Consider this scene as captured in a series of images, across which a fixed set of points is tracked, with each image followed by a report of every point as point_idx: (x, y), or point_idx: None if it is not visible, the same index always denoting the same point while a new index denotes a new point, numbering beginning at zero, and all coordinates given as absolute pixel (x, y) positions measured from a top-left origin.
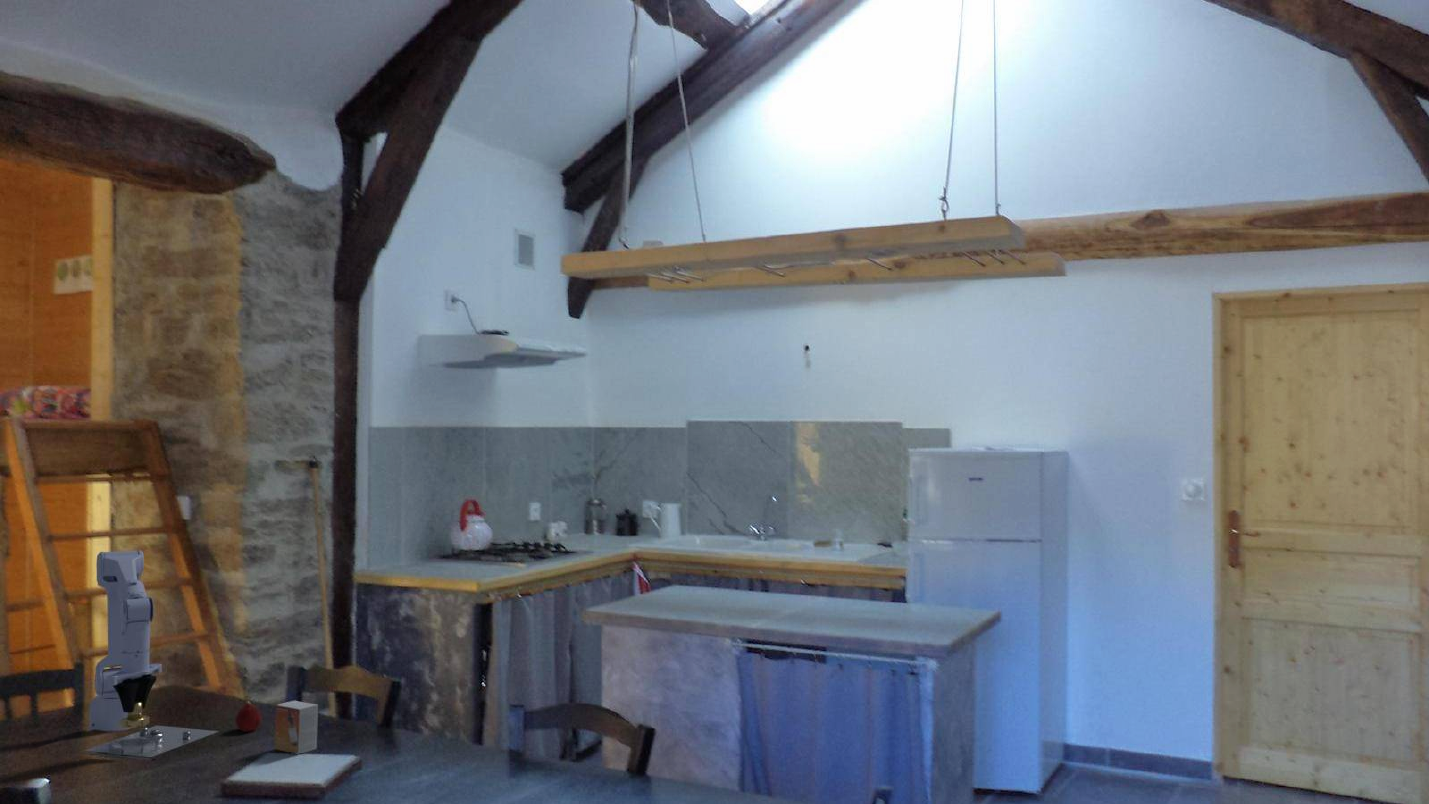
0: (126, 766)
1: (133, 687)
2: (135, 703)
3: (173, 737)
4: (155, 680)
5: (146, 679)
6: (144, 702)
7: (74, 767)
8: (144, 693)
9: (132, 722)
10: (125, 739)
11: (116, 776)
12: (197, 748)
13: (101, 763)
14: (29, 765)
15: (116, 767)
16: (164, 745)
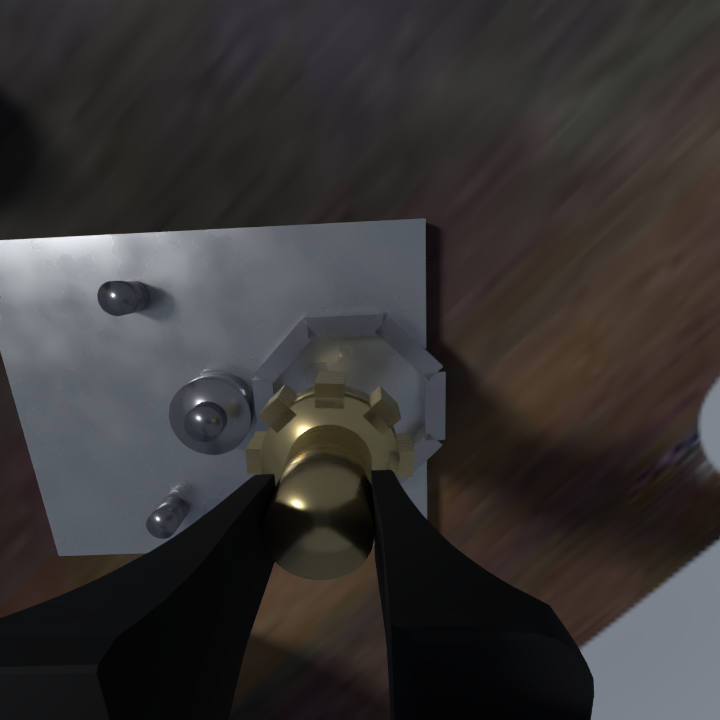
0: (509, 269)
1: (489, 601)
2: (337, 512)
3: (148, 365)
4: (11, 620)
5: (132, 710)
6: (254, 492)
7: (566, 449)
8: (226, 552)
9: (399, 414)
10: None
11: (643, 194)
12: (185, 175)
13: (498, 397)
14: (577, 597)
15: (530, 298)
16: (260, 305)
